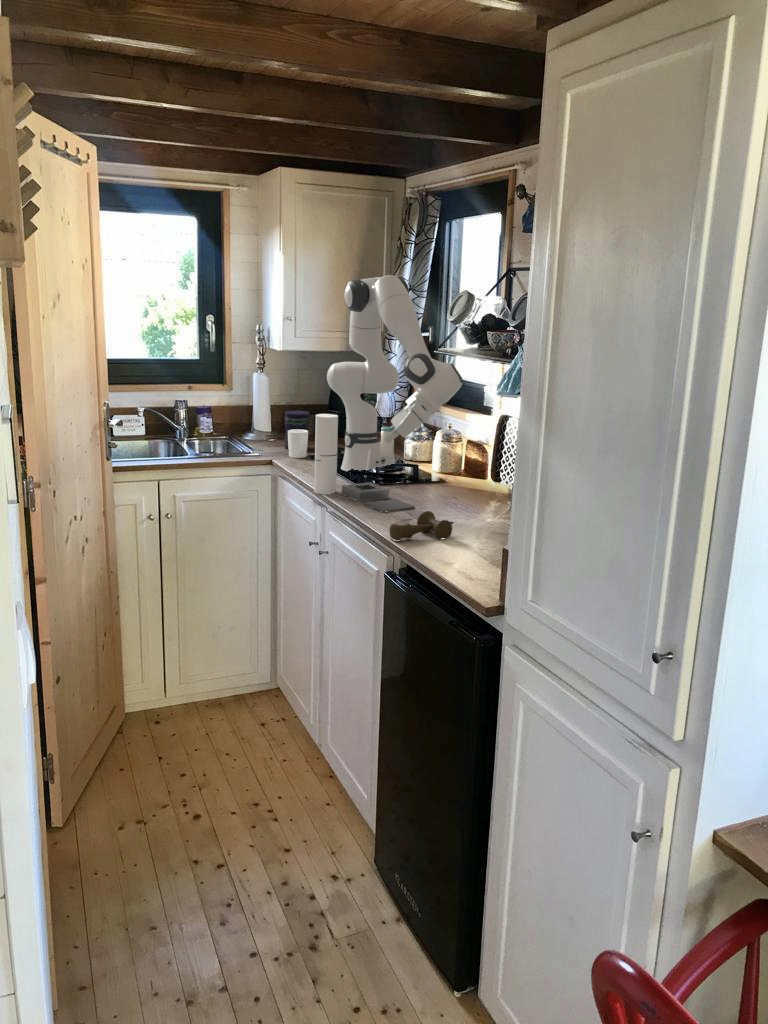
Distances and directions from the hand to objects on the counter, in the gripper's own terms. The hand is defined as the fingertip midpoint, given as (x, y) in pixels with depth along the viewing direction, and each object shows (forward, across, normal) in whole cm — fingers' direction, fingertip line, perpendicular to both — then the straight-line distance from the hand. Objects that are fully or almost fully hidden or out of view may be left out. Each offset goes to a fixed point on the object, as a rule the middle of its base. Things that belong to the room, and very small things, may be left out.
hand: (385, 439), depth 255 cm
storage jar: (+34, -88, -7) cm, 95 cm away
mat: (+13, +1, +16) cm, 21 cm away
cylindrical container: (+27, -16, +2) cm, 32 cm away
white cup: (+33, -73, -6) cm, 80 cm away
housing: (+18, -11, +11) cm, 24 cm away
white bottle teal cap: (+3, 0, +4) cm, 5 cm away
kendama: (+9, +32, +22) cm, 40 cm away
